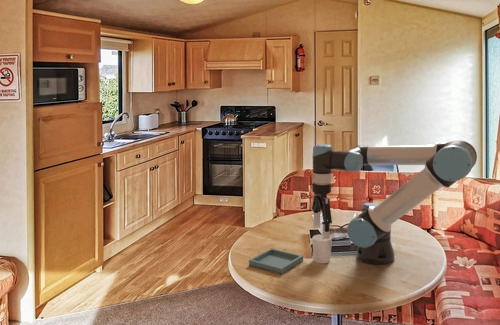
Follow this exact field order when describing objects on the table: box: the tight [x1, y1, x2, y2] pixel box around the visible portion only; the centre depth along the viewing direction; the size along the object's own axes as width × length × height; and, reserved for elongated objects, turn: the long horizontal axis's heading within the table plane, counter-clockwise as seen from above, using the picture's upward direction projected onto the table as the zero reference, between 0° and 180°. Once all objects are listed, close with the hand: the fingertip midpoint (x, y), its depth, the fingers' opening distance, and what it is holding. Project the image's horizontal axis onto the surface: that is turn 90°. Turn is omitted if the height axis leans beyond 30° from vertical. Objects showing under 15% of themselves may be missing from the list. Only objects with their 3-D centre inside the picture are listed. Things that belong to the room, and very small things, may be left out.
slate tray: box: [248, 247, 304, 275], centre depth 195 cm, size 16×16×2 cm
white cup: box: [311, 233, 333, 264], centre depth 196 cm, size 8×8×10 cm
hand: (321, 233), depth 195 cm, fingers open, 13 cm apart
